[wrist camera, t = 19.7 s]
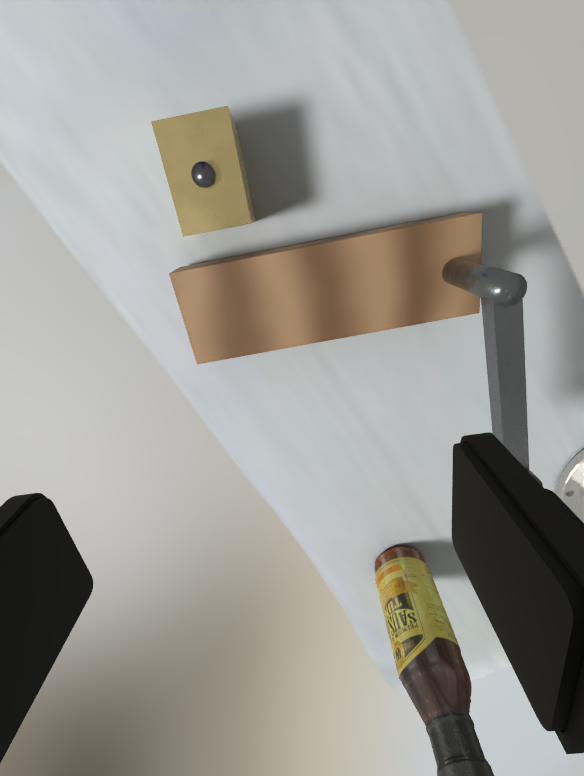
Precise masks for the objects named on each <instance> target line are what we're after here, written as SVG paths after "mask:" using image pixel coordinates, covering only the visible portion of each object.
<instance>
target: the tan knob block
mask: <svg viewBox="0 0 584 776" xmlns="http://www.w3.org/2000/svg"><path fill="white" fill-rule="evenodd" d="M152 126H153V129H154V133H155V137H156V140H157V144H158V147H159V151H160V155H161V158H162V162H163V165H164V169H165V173H166V176H167V180H168V184H169V187H170V191H171V194H172V198H173V202H174V205H175V209H176V212H177V216H178V220H179V223H180V227H181V231H182V234H183V236H188V235H193V234H199V233H204V232H209V231H214V230H219V229H225V228H230V227H235V226H240V225H245V224H251V223H253V222H255V217H254V211H253V206H252V201H251V196H250V191H249V186H248V181H247V176H246V171H245V166H244V161H243V156H242V151H241V146H240V141H239V136H238V131H237V126H236V122H235V120H234V118H233V116H232V114H231V112H230V110H229V108H228V106H225V107H220V108H215V109H210V110H205V111H200V112H196V113H191V114H186V115H181V116H176V117H171V118H167V119H162V120H157V121H152Z"/></svg>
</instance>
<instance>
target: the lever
mask: <svg viewBox="0 0 584 776" xmlns="http://www.w3.org/2000/svg"><path fill="white" fill-rule="evenodd" d="M442 277H443V279H444V281H445V282H447V283H448V284H451V285H453V286H455V287H458V288H460V289H462V290H465V291H467V292H469V293H472V294H474V295H476V296H479V297H481V303H482V314H483V326H484V338H485V349H486V361H487V373H488V384H489V396H490V408H491V419H492V431H493V435H495V437H496V438H497V439H498V440H499V441H500V442H501V443H502V444H503V445H504V446H505V447H506V448H507V449H508V450H509V452H510V453H511V454H512V455H513V456H514V457H515V458H516V459H517V460H518V461H519V462H520V463H521V464H522V465H523V467H524V468H525V469H526V470H527V471H528V472H529V473H530V474H531V475H532V476H533V477H534V478H535V479H536V480H537V482H538V483H539V484H540V485H541V486H542V482H541V481H540V480H539V479H538V478H537V477H536V476H535V475H534V474H533V473H532V472H531V471H529V453H528V428H527V402H526V377H525V351H524V326H523V300H522V298H523V297H524V295H525V293H526V290H527V282H526V280H525V278H524V277H523V276H522V275H520V274H517V273H513V272H509V271H505V270H502V269H498V268H494V267H490V266H487V265H483V264H479V263H475V262H471V261H468V260H464V259H460V258H454V259H451V260H449V261H448V262H447V263H446V264H445V265H444V267H443V270H442ZM542 487H543V486H542Z"/></svg>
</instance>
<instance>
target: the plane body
mask: <svg viewBox="0 0 584 776" xmlns="http://www.w3.org/2000/svg"><path fill="white" fill-rule="evenodd" d="M481 243H482V213H456V214H451V215H445V216H440V217H435V218H430V219H425V220H420V221H415V222H410V223H404V224H399V225H394V226H389V227H384V228H379V229H374V230H369V231H363V232H358V233H353V234H348V235H343V236H338V237H333V238H328V239H322V240H317V241H312V242H307V243H302V244H297V245H292V246H287V247H281V248H276V249H271V250H266V251H261V252H256V253H251V254H246V255H240V256H235V257H230V258H225V259H220V260H215V261H210V262H204V263H199V264H194V265H189V266H184V267H180V268H178V269H176V270H175V271H173V272H171V273H169V275H170V278H171V281H172V285H173V288H174V291H175V294H176V297H177V301H178V304H179V307H180V310H181V314H182V317H183V320H184V323H185V327H186V330H187V333H188V336H189V340H190V343H191V346H192V349H193V353H194V356H195V359H196V362H197V364H201V363H207V362H212V361H218V360H223V359H229V358H234V357H240V356H245V355H251V354H256V353H262V352H267V351H273V350H278V349H284V348H289V347H295V346H300V345H306V344H311V343H317V342H322V341H328V340H333V339H339V338H344V337H350V336H355V335H361V334H366V333H372V332H377V331H383V330H388V329H394V328H399V327H405V326H410V325H416V324H421V323H426V322H432V321H437V320H443V319H448V318H454V317H459V316H465V315H470V314H476V313H479V309H480V297H479V296H476V295H474V294H472V293H469V292H467V291H465V290H462V289H460V288H458V287H455V286H453V285H451V284H448V283H447V282H445V281H444V279H443V277H442V270H443V267H444V265H445V264H446V263H447V262H448V261H449V260H451V259H454V258H460V259H464V260H468V261H471V262H475V263H479V264H481Z"/></svg>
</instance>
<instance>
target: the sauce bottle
mask: <svg viewBox="0 0 584 776" xmlns="http://www.w3.org/2000/svg"><path fill="white" fill-rule="evenodd" d="M375 581H376V585H377V589H378V593H379V597H380V601H381V605H382V609H383V613H384V618H385V622H386V626H387V630H388V634H389V638H390V642H391V646H392V650H393V654H394V659H395V663H396V667H397V671H398V675H399V679H400V680H401V682H402V684H403V685H404V687H405V689H406V691H407V693H408V694H409V696H410V698H411V700H412V702H413V703H414V705H415V707H416V709H417V711H418V712H419V714H420V716H421V718H422V720H423V721H424V723H425V725H426V730H427V733H428V735H429V737H430V741H431V744H432V748H433V752H434V755H435V759H436V762H437V767H438V768H437V775H438V776H494V774H493V772H492V769H491V766H490V765H489V764H488V762H487V761H486V759H485V757H484V754H483V751H482V749H481V746H480V743H479V740H478V738H477V735H476V732H475V729H474V723H473V721H472V719H471V717H470V715H469V708H470V702H471V699H470V697H471V681H470V676H469V673H468V671H467V668H466V666H465V663H464V661H463V658H462V656H461V650H460V647H459V645H458V642H457V639H456V637H455V634H454V632H453V629H452V627H451V624H450V622H449V619H448V616H447V614H446V611H445V609H444V606H443V604H442V601H441V598H440V596H439V593H438V591H437V588H436V586H435V583H434V580H433V578H432V575H431V573H430V570H429V568H428V566H427V565H426V564H425V561H424V559H423V556H422V555H421V554H420V552H418V551H417V550H416V549H413V548H410V547H403V546H398V547H393V548H391V549H389V550H387V551H385V552H383V553H382V554H381V555H380V556H378V558H377V559H376V561H375Z"/></svg>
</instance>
